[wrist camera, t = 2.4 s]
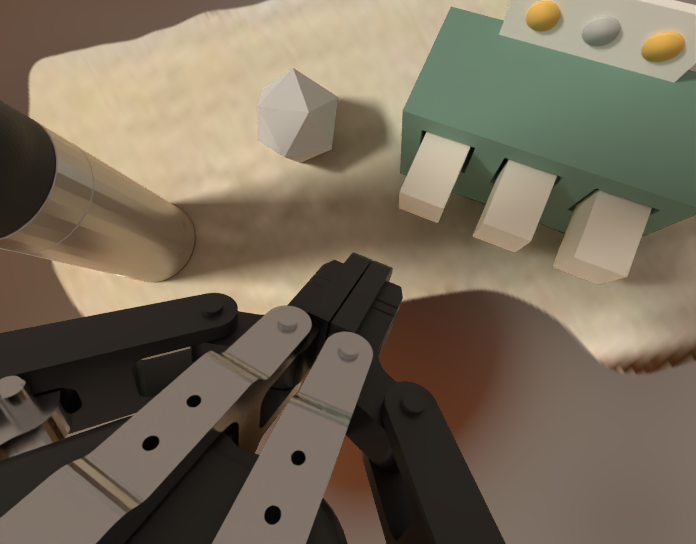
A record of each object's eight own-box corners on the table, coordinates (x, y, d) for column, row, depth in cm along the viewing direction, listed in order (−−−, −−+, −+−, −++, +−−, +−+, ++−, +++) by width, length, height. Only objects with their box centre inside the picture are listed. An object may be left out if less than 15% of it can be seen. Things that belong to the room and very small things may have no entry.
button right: (551, 267, 31) (573, 257, 27) (576, 204, 31) (600, 186, 28) (598, 284, 30) (627, 277, 26) (621, 220, 31) (653, 204, 27)
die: (352, 164, 41) (355, 69, 34) (288, 189, 37) (278, 87, 30) (309, 140, 45) (304, 52, 39) (247, 160, 41) (230, 65, 35)
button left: (398, 208, 33) (399, 192, 30) (424, 151, 34) (427, 129, 30) (437, 223, 33) (443, 208, 29) (463, 165, 33) (471, 143, 30)
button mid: (472, 236, 32) (482, 223, 28) (497, 177, 33) (510, 156, 29) (514, 252, 31) (531, 241, 28) (539, 191, 32) (558, 172, 28)
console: (400, 173, 39) (404, 64, 24) (435, 94, 40) (462, -59, 25) (610, 249, 35) (783, 178, 20) (643, 160, 36) (831, 26, 21)
